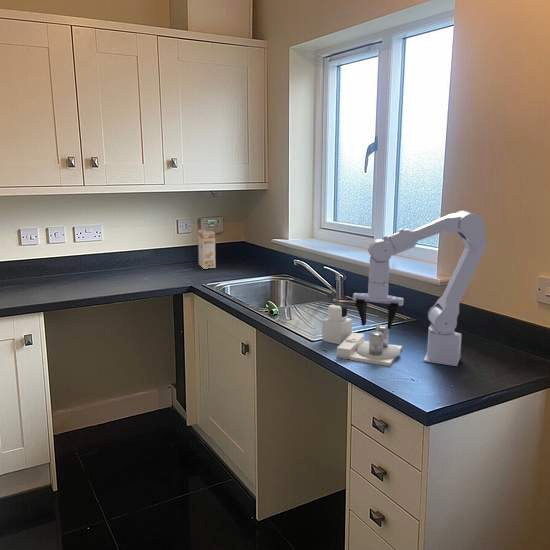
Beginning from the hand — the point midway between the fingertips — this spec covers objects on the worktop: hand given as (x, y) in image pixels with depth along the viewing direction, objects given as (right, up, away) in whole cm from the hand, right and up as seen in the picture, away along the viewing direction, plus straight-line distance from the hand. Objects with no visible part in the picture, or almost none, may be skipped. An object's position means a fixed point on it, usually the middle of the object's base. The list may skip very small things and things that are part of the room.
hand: (376, 326), depth 165 cm
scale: (-1, -9, +6) cm, 11 cm away
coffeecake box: (-66, +19, +135) cm, 152 cm away
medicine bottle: (-10, -6, +18) cm, 22 cm away
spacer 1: (0, -8, +2) cm, 8 cm away
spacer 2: (+3, -7, +8) cm, 11 cm away
